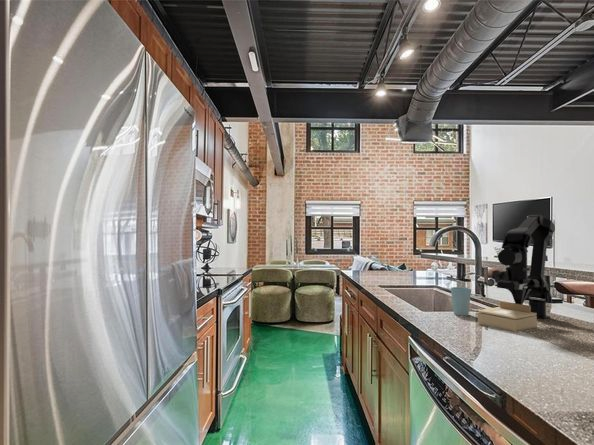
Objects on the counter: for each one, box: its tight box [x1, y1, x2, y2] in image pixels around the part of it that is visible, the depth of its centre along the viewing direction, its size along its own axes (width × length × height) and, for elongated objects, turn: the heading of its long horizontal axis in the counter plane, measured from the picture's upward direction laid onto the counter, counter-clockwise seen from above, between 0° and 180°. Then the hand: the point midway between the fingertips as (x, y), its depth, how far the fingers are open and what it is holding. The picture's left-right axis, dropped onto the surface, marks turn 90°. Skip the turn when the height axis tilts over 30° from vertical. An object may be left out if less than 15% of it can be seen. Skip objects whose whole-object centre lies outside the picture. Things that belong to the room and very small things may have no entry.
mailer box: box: [477, 312, 538, 333], centre depth 126 cm, size 14×13×4 cm
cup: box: [450, 286, 472, 316], centre depth 145 cm, size 8×8×10 cm
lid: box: [477, 300, 537, 319], centre depth 126 cm, size 14×13×3 cm
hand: (518, 307), depth 130 cm, fingers closed
